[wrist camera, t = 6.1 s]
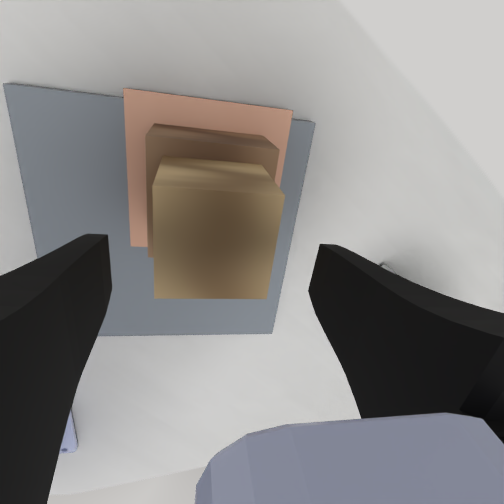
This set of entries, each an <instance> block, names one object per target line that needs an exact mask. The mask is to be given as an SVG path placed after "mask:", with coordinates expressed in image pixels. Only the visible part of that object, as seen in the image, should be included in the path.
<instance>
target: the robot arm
mask: <svg viewBox="0 0 504 504" xmlns="http://www.w3.org/2000/svg"><path fill="white" fill-rule="evenodd" d="M111 292H112V277H111V265H110V252H109V240H108V234H85V235H82V236H80V237H78V238H76V239H74V240H72V241H70V242H68V243H67V244H65V245H63V246H61V247H59V248H57V249H55V250H54V251H52V252H50V253H48V254H46V255H44V256H42V257H40V258H38V259H36V260H34V261H32V262H30V263H28V264H26V265H23V266H21V267H19V268H17V269H15V270H13V271H11V272H8V273H6V274H4V275H1V276H0V504H47V501H48V496H49V492H50V488H51V484H52V480H53V476H54V472H55V468H56V464H57V460H58V455H59V453H71V452H75V451H76V450H77V447H78V444H77V439H76V434H75V428H74V423H73V418H72V413H71V407H72V403H73V400H74V396H75V393H76V389H77V386H78V383H79V380H80V378H81V375H82V372H83V369H84V367H85V365H86V362H87V360H88V357H89V355H90V352H91V350H92V348H93V345H94V343H95V340H96V338H97V336H98V333H99V331H100V328H101V326H102V323H103V321H104V318H105V316H106V313H107V309H108V305H109V301H110V296H111ZM308 292H309V295H310V298H311V302H312V305H313V308H314V311H315V313H316V316H317V318H318V320H319V322H320V324H321V326H322V328H323V330H324V332H325V334H326V336H327V338H328V340H329V342H330V344H331V346H332V347H333V349H334V351H335V353H336V355H337V357H338V359H339V361H340V363H341V365H342V368H343V370H344V372H345V374H346V377H347V379H348V382H349V385H350V387H351V390H352V393H353V395H354V398H355V401H356V404H357V407H358V410H359V413H360V416H361V418H362V419H353V420H339V421H326V422H313V423H299V424H286V425H282V426H278V427H274V428H269V429H265V430H261V431H257V432H253V433H249V434H246V435H245V436H243V437H242V438H240V439H238V440H237V441H235V442H234V443H232V444H231V445H229V446H227V447H226V448H224V449H223V450H221V451H220V452H218V453H217V454H216V455H215V456H214V457H213V458H212V459H211V460H210V462H209V463H208V465H207V467H206V469H205V471H204V472H203V474H202V476H201V478H200V480H199V481H198V483H197V485H196V495H195V504H504V313H500V312H496V311H493V310H489V309H486V308H482V307H479V306H476V305H473V304H469V303H466V302H463V301H460V300H457V299H454V298H451V297H448V296H446V295H443V294H440V293H438V292H435V291H433V290H430V289H428V288H425V287H423V286H420V285H418V284H416V283H413V282H411V281H409V280H407V279H405V278H403V277H401V276H399V275H396V274H394V273H392V272H390V271H388V270H386V269H384V268H383V267H381V266H379V265H377V264H375V263H373V262H371V261H369V260H367V259H365V258H364V257H362V256H360V255H358V254H356V253H354V252H352V251H350V250H348V249H346V248H343V247H341V246H338V245H332V244H320V246H319V250H318V254H317V258H316V262H315V266H314V270H313V274H312V278H311V282H310V286H309V290H308Z"/></svg>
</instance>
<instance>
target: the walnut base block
mask: <svg viewBox="0 0 504 504" xmlns="http://www.w3.org/2000/svg"><path fill="white" fill-rule="evenodd" d="M145 143H146V193H147V243H148V257H150V258H154V255H153V193H152V185H153V183H154V180H155V177H156V174H157V171H158V168H159V165H160V162H161V160H162V157H163V156H172V157H183V158H194V159H206V160H217V161H228V162H239V163H250V164H261V165H262V166H263V167H264V169H265V170H266V171H267V172H268V174H269V175H270V176H271V178H272V179H273V180H274V182H275V176H276V170H277V164H278V158H279V151H280V150H279V149H278V148H277V147H276V146H275V145H274V144H272V143H271V142H270V141H269V140H268V139H267V138H265V137H264V136H262V135H253V134H245V133H236V132H227V131H218V130H210V129H201V128H192V127H183V126H175V125H166V124H157V123H154V125H153V126H152V127H151V129H150V130H149V131H148V133H147V134H146V135H145Z"/></svg>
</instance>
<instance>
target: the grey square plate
mask: <svg viewBox="0 0 504 504" xmlns="http://www.w3.org/2000/svg"><path fill="white" fill-rule="evenodd" d="M3 87H4V92H5V97H6V102H7V107H8V112H9V117H10V122H11V127H12V132H13V137H14V142H15V147H16V152H17V157H18V162H19V168H20V173H21V178H22V183H23V188H24V193H25V198H26V203H27V208H28V213H29V218H30V223H31V228H32V233H33V238H34V243H35V248H36V253H37V258H40V257H42V256H44V255H46V254H48V253H50V252H52V251H54V250H55V249H57V248H59V247H61V246H63V245H65V244H67V243H68V242H70V241H72V240H74V239H76V238H78V237H80V236H82V235H85V234H108V240H109V252H110V265H111V277H112V292H111V296H110V301H109V305H108V309H107V313H106V316H105V318H104V321H103V323H102V326H101V328H100V331H99V333H98V336H148V335H220V334H272V332H273V327H274V322H275V317H276V312H277V308H278V303H279V298H280V293H281V288H282V283H283V279H284V274H285V269H286V264H287V259H288V254H289V249H290V245H291V240H292V235H293V230H294V225H295V220H296V216H297V211H298V206H299V201H300V196H301V191H302V187H303V182H304V177H305V172H306V167H307V162H308V157H309V153H310V148H311V143H312V138H313V133H314V128H315V124H316V123H314V122H312V121H305V120H297V119H292V114H293V111H292V110H285V109H277V108H270V107H262V106H255V105H247V104H240V103H232V102H225V101H217V100H210V99H202V98H195V97H187V96H179V95H172V94H164V93H157V92H149V91H142V90H134V89H127V88H123V94H124V97H116V96H108V95H100V94H92V93H85V92H77V91H69V90H61V89H53V88H45V87H37V86H30V85H22V84H14V83H3ZM154 123H157V124H166V125H175V126H183V127H192V128H201V129H210V130H218V131H227V132H236V133H245V134H253V135H262V136H264V137H265V138H267V139H268V140H269V141H270V142H271V143H272V144H274V145H275V146H276V147H277V148H278V149H279V150H280V151H279V158H278V164H277V170H276V176H275V183H276V184H277V185H278V187H279V188H280V189H281V191H282V192H283V193H284V194H285V199H284V205H283V211H282V216H281V222H280V227H279V233H278V238H277V244H276V250H275V255H274V261H273V266H272V272H271V278H270V283H269V289H268V294H267V299H154V258H150V257H148V243H147V193H146V143H145V135H146V134H147V133H148V131H149V130H150V129H151V127H152V126H153V125H154Z"/></svg>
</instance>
